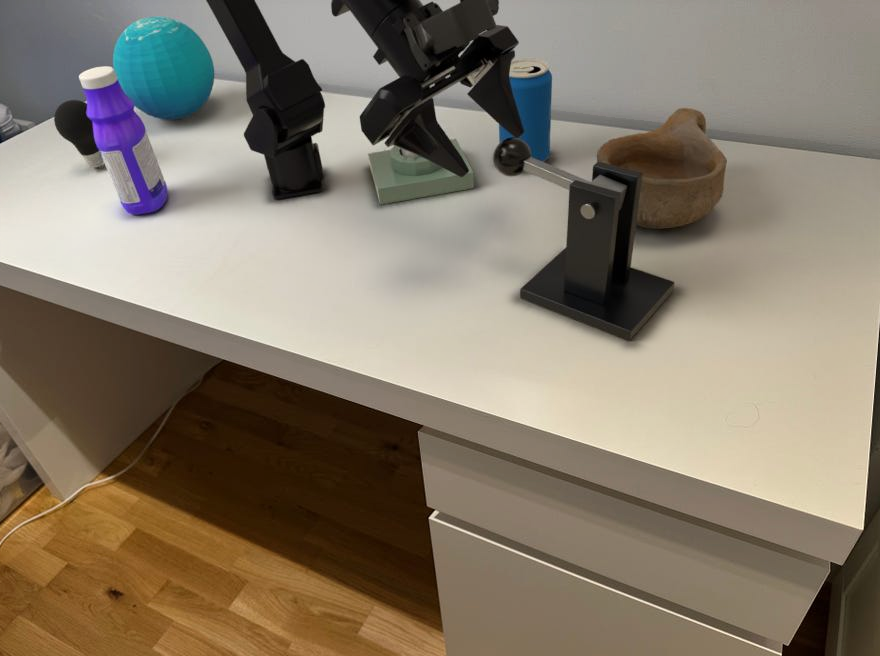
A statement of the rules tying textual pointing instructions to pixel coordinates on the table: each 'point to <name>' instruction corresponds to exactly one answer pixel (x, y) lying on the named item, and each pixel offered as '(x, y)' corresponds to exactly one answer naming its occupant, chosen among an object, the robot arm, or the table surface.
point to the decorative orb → (163, 67)
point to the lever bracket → (600, 261)
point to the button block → (414, 176)
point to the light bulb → (78, 130)
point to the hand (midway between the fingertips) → (494, 154)
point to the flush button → (409, 154)
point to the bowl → (672, 169)
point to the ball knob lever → (542, 167)
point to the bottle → (123, 142)
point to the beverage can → (532, 104)
